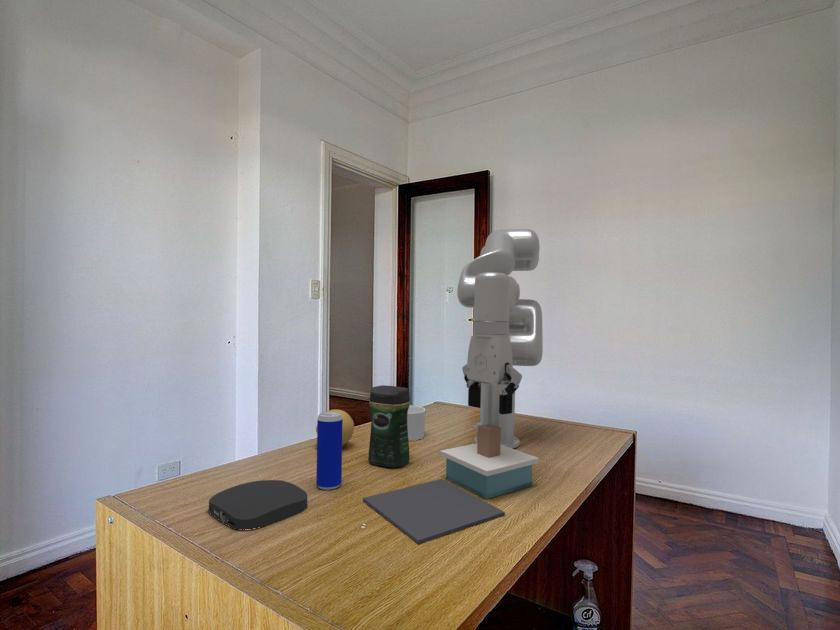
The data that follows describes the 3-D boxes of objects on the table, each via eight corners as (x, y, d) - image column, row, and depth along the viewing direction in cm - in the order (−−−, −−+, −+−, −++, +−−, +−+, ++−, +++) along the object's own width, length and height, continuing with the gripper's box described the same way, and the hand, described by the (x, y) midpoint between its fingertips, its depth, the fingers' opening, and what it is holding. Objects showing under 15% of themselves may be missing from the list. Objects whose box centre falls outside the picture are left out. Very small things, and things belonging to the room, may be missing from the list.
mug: (425, 442, 127) (425, 413, 127) (387, 441, 127) (388, 412, 127) (425, 429, 140) (425, 403, 140) (391, 428, 140) (392, 403, 140)
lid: (440, 455, 99) (440, 423, 99) (490, 444, 108) (490, 415, 108) (486, 476, 87) (487, 440, 87) (539, 462, 96) (539, 429, 96)
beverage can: (345, 483, 95) (347, 412, 95) (333, 492, 91) (334, 417, 90) (324, 479, 97) (325, 410, 97) (311, 488, 92) (312, 415, 92)
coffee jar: (414, 461, 110) (415, 385, 110) (397, 471, 103) (398, 390, 103) (381, 454, 115) (382, 382, 115) (362, 463, 108) (364, 386, 108)
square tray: (446, 478, 99) (446, 455, 99) (489, 467, 107) (489, 446, 107) (486, 499, 89) (486, 473, 88) (531, 485, 96) (532, 462, 96)
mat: (362, 501, 87) (362, 498, 87) (441, 481, 97) (441, 478, 97) (418, 544, 71) (418, 540, 71) (504, 515, 82) (504, 511, 82)
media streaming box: (315, 508, 84) (316, 492, 84) (241, 538, 73) (241, 519, 73) (272, 487, 93) (272, 473, 93) (200, 510, 82) (201, 494, 82)
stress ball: (346, 456, 116) (367, 426, 122) (322, 431, 112) (345, 401, 118) (325, 453, 123) (346, 425, 129) (302, 429, 119) (325, 401, 125)
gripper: (452, 328, 102) (450, 404, 102) (507, 331, 88) (505, 419, 88) (477, 329, 106) (475, 401, 106) (533, 331, 92) (532, 415, 92)
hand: (489, 409), depth 97 cm, fingers open, 9 cm apart
